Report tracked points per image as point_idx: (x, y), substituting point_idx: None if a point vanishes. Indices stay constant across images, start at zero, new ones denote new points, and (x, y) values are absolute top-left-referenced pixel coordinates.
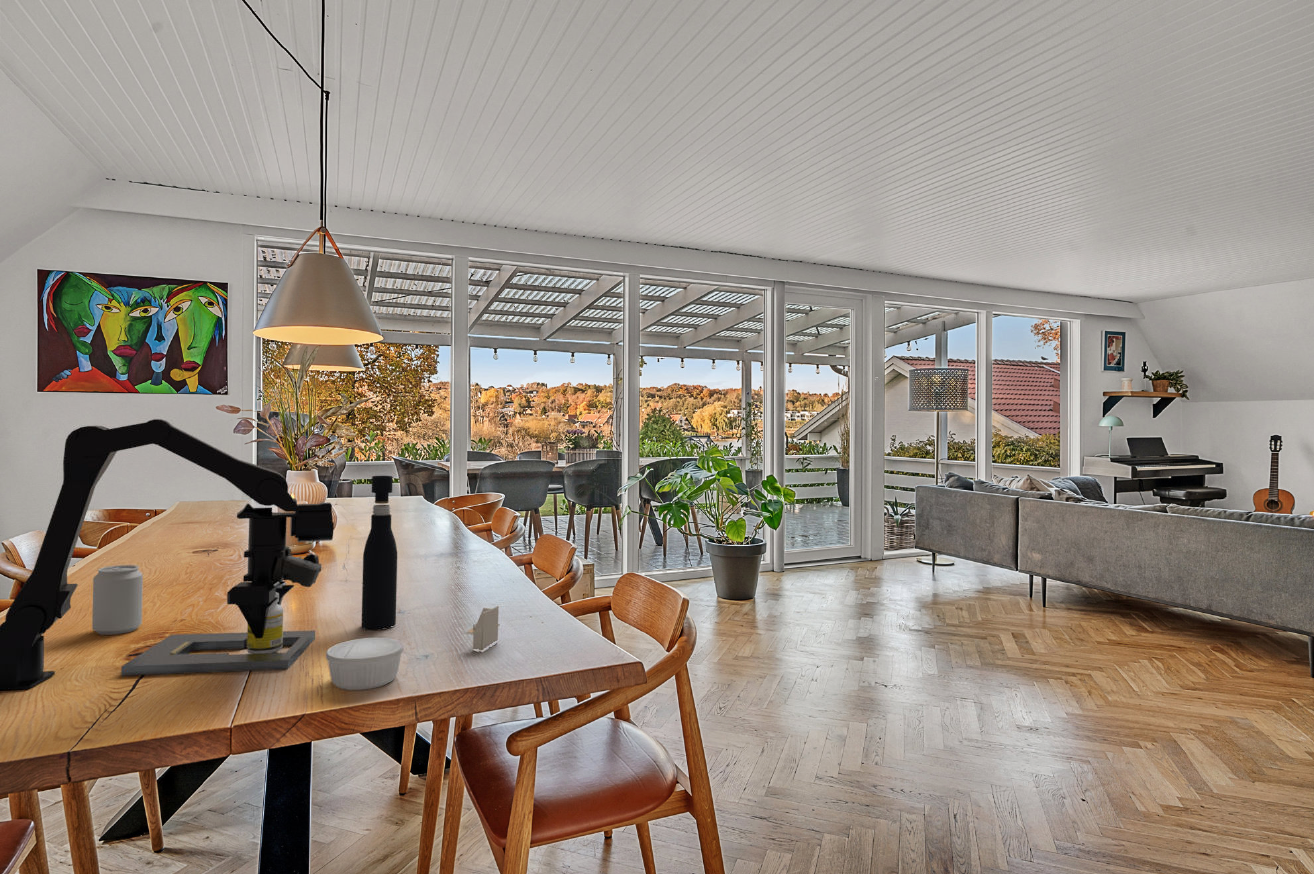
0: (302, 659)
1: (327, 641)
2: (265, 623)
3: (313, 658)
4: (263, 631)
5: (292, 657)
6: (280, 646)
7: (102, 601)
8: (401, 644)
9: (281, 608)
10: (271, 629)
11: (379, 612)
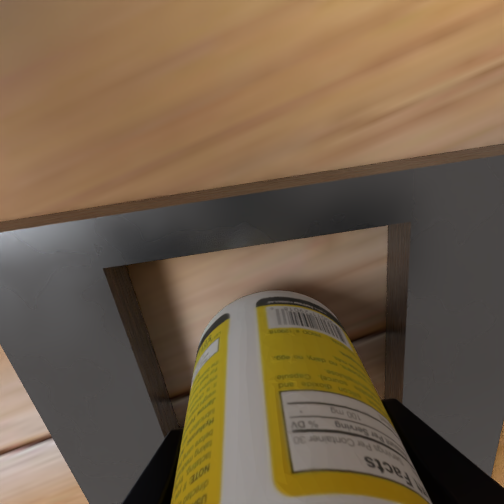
0: (359, 133)
1: (11, 126)
2: (454, 477)
3: (347, 73)
4: (421, 425)
5: (459, 158)
6: (280, 297)
7: None
8: None
9: None
10: (378, 403)
11: None
